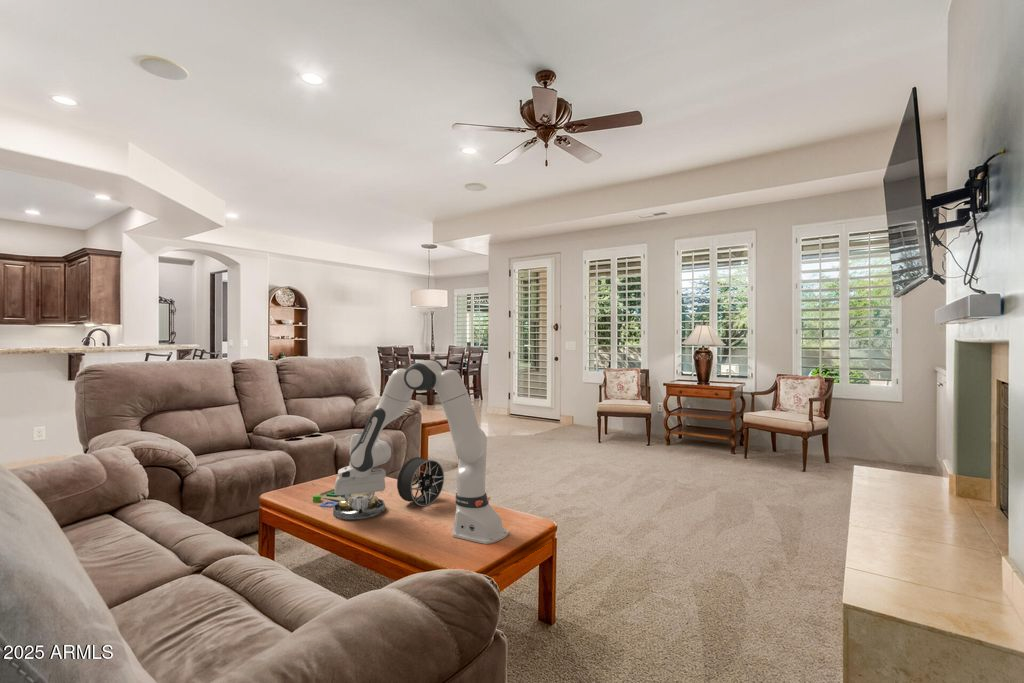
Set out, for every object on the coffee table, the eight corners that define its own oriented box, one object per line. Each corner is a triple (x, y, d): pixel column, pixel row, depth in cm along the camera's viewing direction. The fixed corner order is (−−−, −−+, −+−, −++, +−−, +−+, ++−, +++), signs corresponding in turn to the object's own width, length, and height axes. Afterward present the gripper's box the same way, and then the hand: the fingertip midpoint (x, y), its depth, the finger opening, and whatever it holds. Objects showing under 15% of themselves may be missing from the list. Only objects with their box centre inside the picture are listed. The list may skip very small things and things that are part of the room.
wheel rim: (410, 511, 211) (411, 465, 211) (396, 506, 216) (397, 461, 216) (443, 499, 227) (444, 456, 227) (430, 495, 232) (430, 453, 232)
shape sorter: (358, 484, 251) (359, 475, 251) (387, 490, 242) (387, 480, 242) (302, 503, 221) (303, 493, 221) (332, 511, 212) (332, 500, 212)
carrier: (394, 510, 212) (394, 497, 212) (352, 524, 195) (352, 510, 195) (365, 499, 225) (365, 487, 225) (323, 512, 208) (323, 499, 208)
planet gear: (371, 506, 205) (371, 497, 205) (357, 511, 200) (358, 501, 200) (361, 503, 209) (362, 493, 209) (348, 507, 204) (348, 497, 204)
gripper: (385, 466, 211) (384, 498, 211) (334, 470, 204) (334, 503, 204) (387, 469, 205) (386, 502, 206) (335, 474, 198) (334, 508, 198)
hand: (360, 503), depth 205 cm, fingers closed on planet gear, 7 cm apart
